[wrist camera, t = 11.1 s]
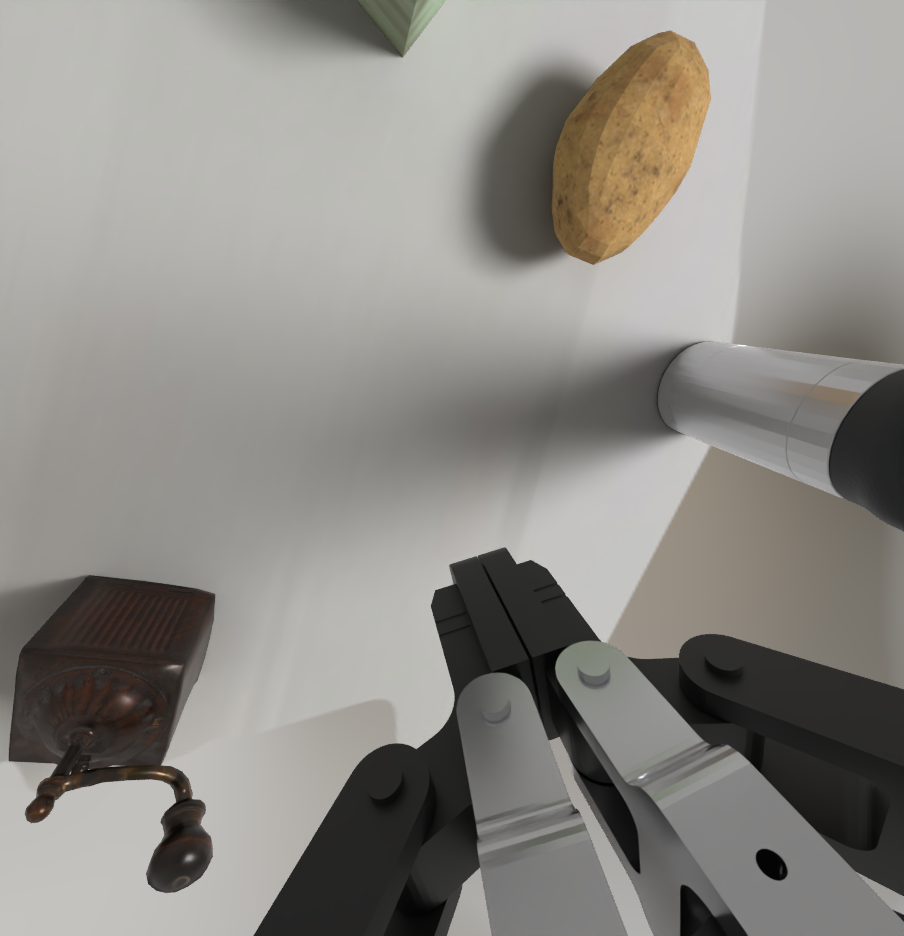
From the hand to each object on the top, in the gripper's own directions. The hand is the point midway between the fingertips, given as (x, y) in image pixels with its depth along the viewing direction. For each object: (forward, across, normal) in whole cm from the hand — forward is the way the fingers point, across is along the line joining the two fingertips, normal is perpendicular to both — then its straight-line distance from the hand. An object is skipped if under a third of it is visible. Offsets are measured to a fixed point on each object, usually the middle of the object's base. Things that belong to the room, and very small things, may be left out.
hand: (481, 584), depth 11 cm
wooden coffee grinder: (+29, +25, +18) cm, 43 cm away
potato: (+29, -20, -12) cm, 37 cm away
